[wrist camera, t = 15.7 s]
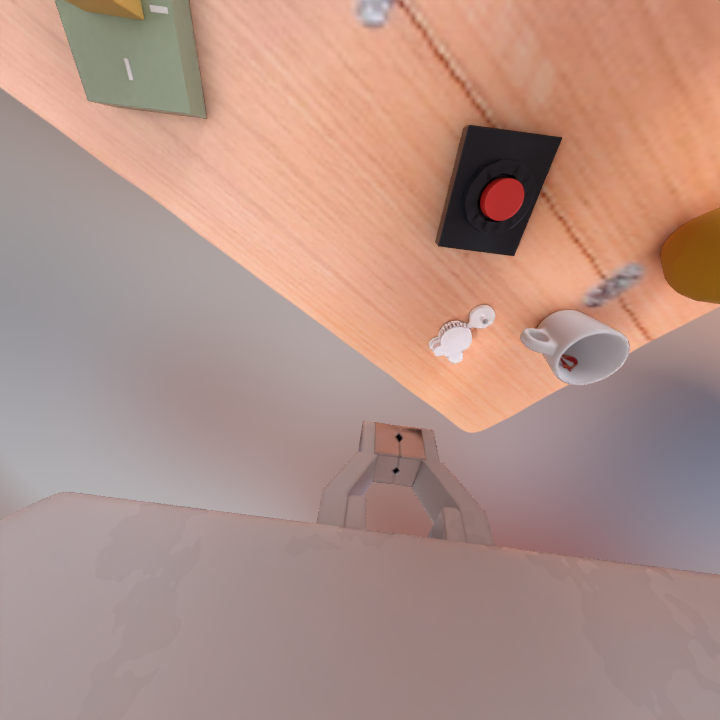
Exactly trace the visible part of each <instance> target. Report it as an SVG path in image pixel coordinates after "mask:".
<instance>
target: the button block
mask: <svg viewBox="0 0 720 720" xmlns="http://www.w3.org/2000/svg"><path fill="white" fill-rule="evenodd" d="M561 140H562V137H556V136H548V135H541V134H533V133H526V132H518V131H511V130H503V129H496V128H488V127H480V126H473V125H468V126H466V127H464V128H463V132H462V136H461V140H460V144H459V148H458V152H457V156H456V160H455V164H454V168H453V172H452V177H451V181H450V185H449V189H448V193H447V197H446V201H445V205H444V209H443V213H442V217H441V221H440V225H439V229H438V233H437V237H436V241H435V242H436V244H437V245H438V246H441V247H448V248H456V249H464V250H471V251H479V252H486V253H494V254H502V255H509V256H514V255H515V252H516V250H517V247H518V245H519V243H520V240H521V238H522V235H523V233H524V230H525V228H526V225H527V223H528V221H529V218H530V216H531V213H532V211H533V208H534V206H535V203H536V201H537V199H538V196H539V194H540V191H541V189H542V186H543V184H544V181H545V179H546V176H547V174H548V172H549V169H550V167H551V164H552V162H553V159H554V157H555V154H556V152H557V150H558V147H559V145H560V142H561ZM498 178H513V179H516V180H518V181H519V182H520V183H521V184H522V186H523V189H524V200H523V203H522V205H521V207H520V208H519V210H518V211H517V212H516V213H515V214H514V215H513V216H512V217H510V218H508V219H506V220H502V221H496V220H493V219H491V218H489V217H487V216H485V215H484V214H483V212H482V210H481V207H480V199H481V195H482V193H483V191H484V189H485V188H486V187H487V186H488V185H489V184H490V183H491V182H492V181H494V180H496V179H498Z"/></svg>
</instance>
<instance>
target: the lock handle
mask: <svg viewBox="0 0 720 720" xmlns="http://www.w3.org/2000/svg"><path fill="white" fill-rule="evenodd" d="M65 1H67V2H69V3H71V4H73V5H75V6H76V7H78V8H80V9H82V10H84V11H86V12H93V13H99V14H106V15H112V16H119V17H125V18H132V19H138V20H144V15H143V10H142V5H141V1H140V0H65Z"/></svg>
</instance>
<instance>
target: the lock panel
mask: <svg viewBox="0 0 720 720" xmlns="http://www.w3.org/2000/svg"><path fill="white" fill-rule="evenodd" d="M140 1H141V5H142V10H143V15H144V20H138V19H132V18H125V17H119V16H112V15H106V14H99V13H93V12H86V11H84V10H82V9H80V8H78V7H76V6H75V5H73V4H71V3H69V2H67V1H65V0H55V3H56V6H57V9H58V12H59V15H60V18H61V21H62V24H63V27H64V30H65V33H66V36H67V39H68V42H69V45H70V48H71V51H72V54H73V57H74V60H75V63H76V66H77V69H78V72H79V75H80V78H81V81H82V84H83V87H84V90H85V93H86V96H87V99H88V101H90V102H95V103H99V104H104V105H108V106H113V107H120V108H128V109H135V110H143V111H151V112H158V113H166V114H173V115H181V116H189V117H196V118H204V119H207V115H206V109H205V103H204V96H203V90H202V83H201V77H200V70H199V64H198V57H197V51H196V44H195V38H194V32H193V25H192V19H191V12H190V6H189V0H140Z"/></svg>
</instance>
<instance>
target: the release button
mask: <svg viewBox="0 0 720 720" xmlns="http://www.w3.org/2000/svg"><path fill="white" fill-rule="evenodd" d="M523 200H524V189H523V186H522V184H521V183H520V182H519V181H518V180H516V179H513V178H498V179H496V180H494V181H492V182H491V183H490V184H489V185H488V186H487V187H486V188H485V189H484V191H483V193H482V195H481V199H480V207H481V210H482V212H483V214H484V215H485V216H487V217H489V218H491V219H493V220H496V221H502V220H506V219H508V218H510V217H512V216H513V215H514V214H515V213H516V212H517V211H518V210H519V208H520V207H521V205H522V203H523Z"/></svg>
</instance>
